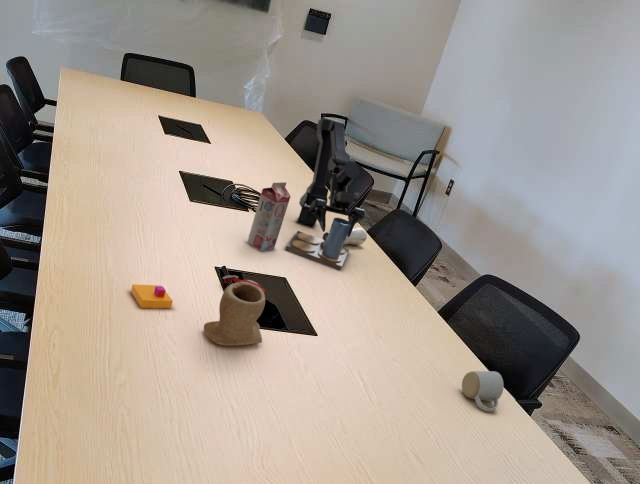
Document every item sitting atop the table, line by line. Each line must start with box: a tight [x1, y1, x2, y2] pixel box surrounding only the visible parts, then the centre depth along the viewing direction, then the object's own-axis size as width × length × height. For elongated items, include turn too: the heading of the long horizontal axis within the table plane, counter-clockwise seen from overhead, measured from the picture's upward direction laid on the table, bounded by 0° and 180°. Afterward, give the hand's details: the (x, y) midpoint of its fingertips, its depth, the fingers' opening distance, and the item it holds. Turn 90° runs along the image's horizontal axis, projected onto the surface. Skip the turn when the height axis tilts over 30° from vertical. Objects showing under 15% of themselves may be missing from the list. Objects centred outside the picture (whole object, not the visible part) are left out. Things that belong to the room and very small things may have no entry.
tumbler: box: [322, 217, 351, 259], centre depth 227 cm, size 6×6×12 cm
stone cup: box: [203, 282, 266, 346], centre depth 161 cm, size 15×12×15 cm
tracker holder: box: [222, 274, 266, 294], centre depth 189 cm, size 12×4×10 cm
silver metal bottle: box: [322, 227, 367, 246], centre depth 248 cm, size 6×7×20 cm
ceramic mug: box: [461, 370, 505, 413], centre depth 172 cm, size 11×8×8 cm
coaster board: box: [284, 230, 350, 271], centre depth 235 cm, size 20×20×2 cm
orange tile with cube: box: [130, 284, 173, 309], centre depth 169 cm, size 8×8×4 cm
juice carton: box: [246, 181, 292, 252], centre depth 219 cm, size 7×7×22 cm
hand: (336, 234), depth 228 cm, fingers open, 9 cm apart
